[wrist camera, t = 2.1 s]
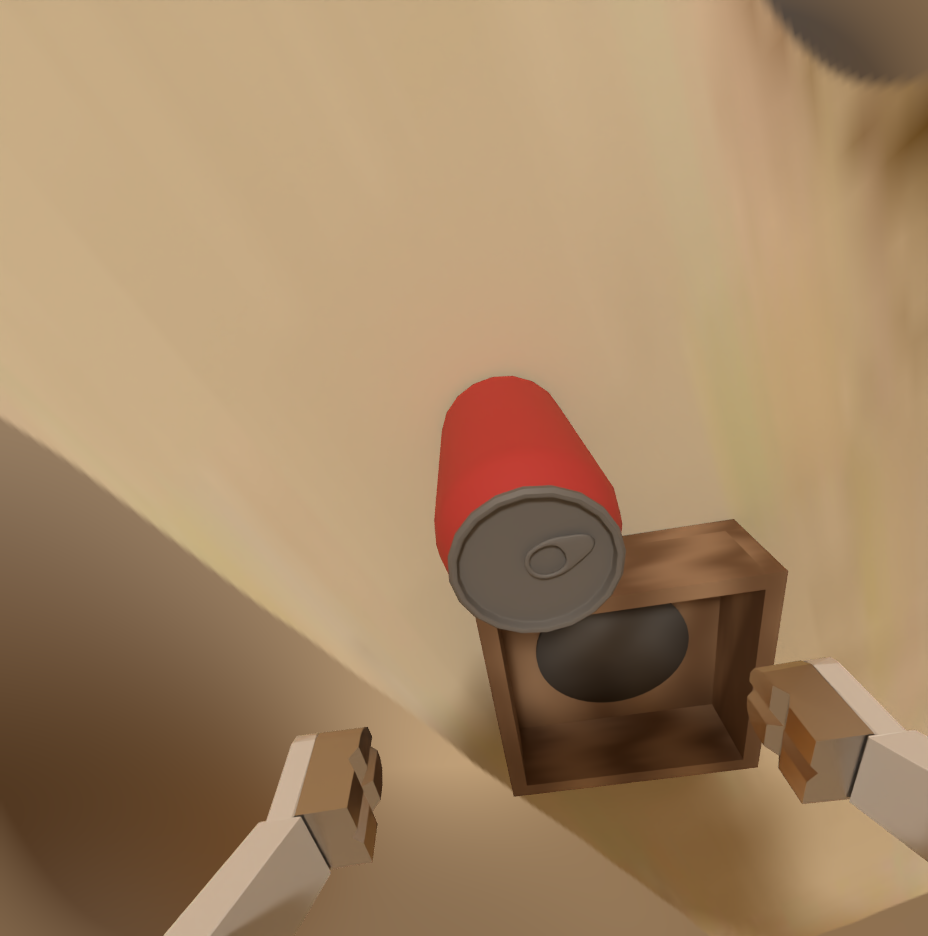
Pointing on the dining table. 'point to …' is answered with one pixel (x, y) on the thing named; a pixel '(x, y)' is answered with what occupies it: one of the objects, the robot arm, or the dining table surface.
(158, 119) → the dining table surface
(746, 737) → the walnut box
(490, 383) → the beer can
